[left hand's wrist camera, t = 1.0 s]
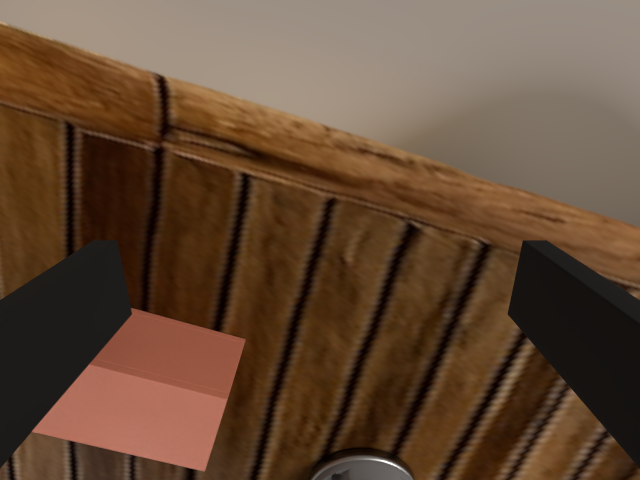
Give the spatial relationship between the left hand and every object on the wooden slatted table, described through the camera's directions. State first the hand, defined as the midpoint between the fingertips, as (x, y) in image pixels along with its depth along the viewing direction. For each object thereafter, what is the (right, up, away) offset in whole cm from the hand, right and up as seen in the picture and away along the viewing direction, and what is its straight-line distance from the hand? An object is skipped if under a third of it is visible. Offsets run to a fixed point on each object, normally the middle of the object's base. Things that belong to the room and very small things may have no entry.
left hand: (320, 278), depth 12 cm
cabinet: (-20, -12, +32) cm, 40 cm away
